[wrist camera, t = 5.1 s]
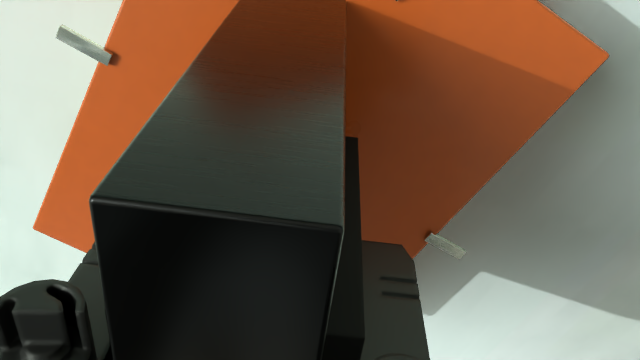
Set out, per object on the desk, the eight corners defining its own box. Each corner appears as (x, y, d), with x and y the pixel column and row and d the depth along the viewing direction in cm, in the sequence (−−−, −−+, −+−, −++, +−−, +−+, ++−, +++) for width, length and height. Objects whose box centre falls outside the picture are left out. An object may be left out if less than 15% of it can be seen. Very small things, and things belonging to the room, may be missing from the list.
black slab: (247, -14, 12) (72, 213, 4) (346, -1, 12) (344, 245, 5) (237, 267, 17) (143, 612, 9) (308, 275, 17) (275, 625, 9)
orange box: (212, -244, 13) (163, -281, 10) (582, 33, 16) (645, 80, 13) (57, 153, 20) (-6, 217, 16) (342, 294, 23) (341, 372, 20)
